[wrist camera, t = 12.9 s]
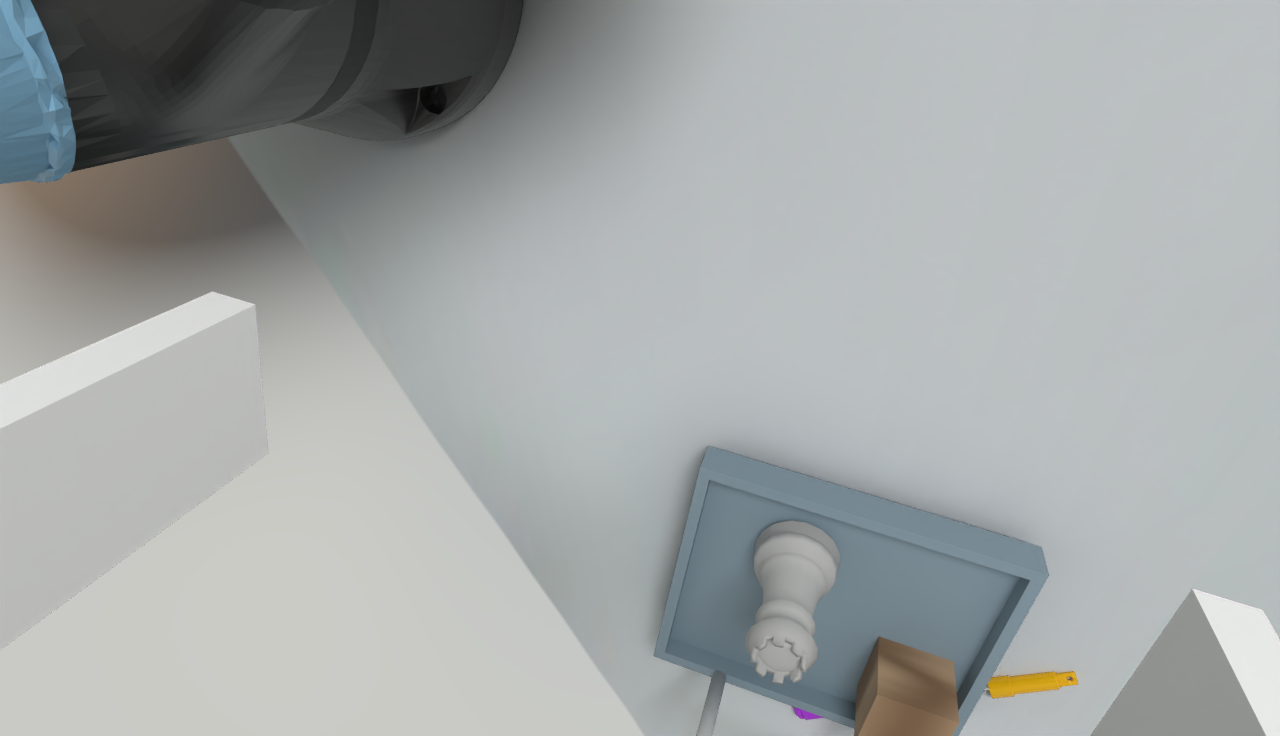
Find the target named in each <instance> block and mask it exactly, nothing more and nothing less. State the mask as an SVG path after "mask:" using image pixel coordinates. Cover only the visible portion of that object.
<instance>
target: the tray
mask: <svg viewBox="0 0 1280 736" xmlns="http://www.w3.org/2000/svg"><path fill="white" fill-rule="evenodd" d="M790 520H793V521H801V522H807V523H809V524H811V525H813V526H815V527H818V528H820V529H821V530H823V531H824V532H825V533H826V534H827V535H828V536H829V537H830V538H831V539H832V540H833V541H834V542H835V544H836V547H837V549H838V551H839V554H840V564H839V570H838V571H837V580H836V581H835V583H834V585H833V586H832V588H831V589H830V591H829V592H828V594H826V595H825V596H823V597H822V599H821V600H820V601H818V602H817V605H816V608H815V611H814V614H813V620H814V622H815V634H814V635H813V639H814V641H815V643H816V646H817V648H818V651H817V660H816V661H815V663H814V664H813V665H812V667H811V668H809V669H807V673H806V672H803V674H802V680H800V681H798V682H796V683H793V682H792V681H791V679H790V676H788V677H784V683H783V685H782V684H776V683H772V681H773V674H771V673H769V672H767V671H766V675H765V676H763V677H761V676H760V675H759V674H757V673H756V672H755V671H754V670H755V665H756V663H754V662H750V654H749V652H748V650H747V648H746V634H747V633H748V631H749V629H750V628H751V626H753V625H755V624H756V623H755V619H756V613H757V611H758V609H759V608H760V606H762V603H763V589H762V587H761V585H760V582H759V580H758V578H757V576H756V574H755V571H754V553H755V543H756V541H757V539H758V538H759V536H760V534H761V532H762V531H764V530H765V529H767V528H768V527H770V526H771V525H773V524H775V523H780V522H785V521H790ZM1048 576H1049V573H1048V569H1047V565H1046V562H1045V558H1044V554H1043V550H1042V547H1040V546H1036V545H1033V544H1030V543H1027V542H1023V541H1020V540H1017V539H1013V538H1010V537H1007V536H1004V535H1000V534H997V533H994V532H990V531H987V530H984V529H981V528H977V527H974V526H971V525H967V524H964V523H961V522H958V521H954V520H951V519H948V518H944V517H941V516H938V515H935V514H931V513H928V512H925V511H921V510H918V509H915V508H912V507H908V506H905V505H902V504H898V503H895V502H892V501H889V500H885V499H882V498H879V497H875V496H872V495H869V494H866V493H862V492H859V491H856V490H852V489H849V488H846V487H843V486H839V485H836V484H833V483H829V482H826V481H823V480H820V479H816V478H813V477H810V476H806V475H803V474H800V473H797V472H793V471H790V470H787V469H783V468H780V467H777V466H774V465H770V464H767V463H764V462H760V461H757V460H754V459H750V458H747V457H744V456H741V455H737V454H734V453H731V452H727V451H724V450H721V449H718V448H714V447H711V446H708V449H707V451H706V454H705V456H704V459H703V461H702V463H701V466H700V469H699V473H698V477H697V481H696V485H695V490H694V494H693V498H692V502H691V506H690V510H689V514H688V518H687V522H686V526H685V530H684V534H683V538H682V542H681V546H680V550H679V555H678V559H677V563H676V567H675V571H674V575H673V579H672V583H671V587H670V591H669V595H668V599H667V603H666V607H665V611H664V615H663V620H662V624H661V628H660V632H659V636H658V640H657V644H656V648H655V652H654V656H655V657H658V658H660V659H663V660H666V661H669V662H671V663H674V664H677V665H680V666H683V667H685V668H688V669H691V670H694V671H696V672H699V673H702V674H705V675H708V676H710V677H712V679H711V682H710V686H709V690H708V694H707V697H706V701H705V705H704V709H703V712H702V716H701V720H700V724H699V727H698V731H697V735H696V736H712V734H713V730H714V725H715V721H716V717H717V713H718V709H719V705H720V701H721V697H722V693H723V689H724V685H725V682H727V683H730V684H732V685H735V686H738V687H741V688H744V689H746V690H749V691H752V692H755V693H757V694H760V695H763V696H766V697H769V698H771V699H774V700H777V701H780V702H782V703H785V704H788V705H791V706H794V707H796V708H799V709H802V710H805V711H807V712H810V713H813V714H816V715H819V716H821V717H824V718H827V719H830V720H832V721H835V722H838V723H841V724H843V725H846V726H849V727H852V728H855V714H856V695H857V684H858V682H859V680H860V677H861V675H862V673H863V671H864V668H865V666H866V664H867V662H868V659H869V657H870V655H871V653H872V650H873V648H874V646H875V644H876V641H877V639H878V637H879V636H880V637H883V638H885V639H888V640H891V641H894V642H897V643H900V644H903V645H906V646H909V647H912V648H915V649H918V650H921V651H924V652H927V653H930V654H933V655H936V656H939V657H942V658H945V659H948V660H951V661H954V670H955V681H956V692H957V704H958V715H959V724H958V726H957V728H956V730H955V731H954V733H953V735H952V736H959V734H960V732H961V730H962V728H963V727H964V725H965V723H966V721H967V720H968V718H969V716H970V714H971V713H972V711H973V709H974V707H975V705H976V704H977V702H978V700H979V698H980V697H981V695H982V693H983V691H984V689H985V688H986V686H987V684H988V682H989V681H990V679H991V677H992V675H993V674H994V672H995V670H996V668H997V666H998V665H999V663H1000V661H1001V659H1002V658H1003V656H1004V654H1005V652H1006V651H1007V649H1008V647H1009V645H1010V643H1011V642H1012V640H1013V638H1014V636H1015V635H1016V633H1017V631H1018V629H1019V627H1020V626H1021V624H1022V622H1023V620H1024V619H1025V617H1026V615H1027V613H1028V612H1029V610H1030V608H1031V606H1032V604H1033V603H1034V601H1035V599H1036V597H1037V596H1038V594H1039V592H1040V590H1041V588H1042V587H1043V585H1044V583H1045V581H1046V580H1047V578H1048Z"/></svg>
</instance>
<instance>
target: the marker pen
mask: <svg viewBox="0 0 1280 736" xmlns="http://www.w3.org/2000/svg"><path fill="white" fill-rule="evenodd" d="M1067 677H1072V679H1071V680H1068V679H1067ZM1069 685H1078V681H1077V678H1076V675H1075V672H1074V671H1072V672H1063V673H1055V672H1045V673H1037V674H1028V675H1019V676H1010V677H1009V676H1008V675H1007V676H999V677H991V679H990V681H989V682H988V686H986V688H985V689H984V690H989V691H990V694H991V697H992V698H993V699H995V698H1004V697H1013V696H1015V694H1023V693H1032V692H1041V691H1050V690H1059V689H1060V687H1062V686H1069ZM794 711H795V714H796V715H797V716H798V717H799V718H801V719H803V718H805V719H806V720H808V719H817V718H824V717H821V716H819V715H816V714H813V713H810V712H807V711H805V710H802V709H799V708H796V707H794Z"/></svg>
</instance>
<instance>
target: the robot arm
mask: <svg viewBox="0 0 1280 736" xmlns="http://www.w3.org/2000/svg"><path fill="white" fill-rule="evenodd" d="M522 4H523V0H0V184H3V183H11V182H19V181H35V182H51V181H57V180H59V179H61V178H62V177H63V176H64V175H65V174H66V173H70V172H73V171H77V170H81V169H86V168H91V167H95V166H99V165H104V164H108V163H113V162H117V161H122V160H126V159H131V158H135V157H139V156H144V155H148V154H153V153H157V152H161V151H166V150H171V149H175V148H180V147H183V146H188V145H193V144H197V143H202V142H206V141H211V140H215V139H219V138H224V137H229V136H233V135H237V134H242V133H246V132H251V131H255V130H260V129H264V128H269V127H273V126H277V125H281V124H285V123H290V122H293V123H297V124H301V125H305V126H309V127H313V128H317V129H321V130H325V131H329V132H333V133H337V134H340V135H344V136H348V137H353V138H358V139H365V140H396V139H403V138H408V137H412V136H415V135H419V134H422V133H426V132H429V131H433V130H436V129H438V128H441V127H444V126H446V125H448V124H450V123H452V122H454V121H456V120H457V119H459V118H461V117H462V116H464V115H465V114H466V113H468V112H469V111H470V110H471V109H473V108H474V107H475V106H476V105H477V104H478V103H479V102H480V101H481V100H482V99H483V98H484V97H485V96H486V94H487V93H488V92H489V91H490V90H491V88H492V87H493V85H494V84H495V83H496V81H497V79H498V78H499V76H500V74H501V73H502V71H503V69H504V67H505V65H506V63H507V61H508V59H509V56H510V54H511V51H512V49H513V46H514V42H515V39H516V36H517V32H518V28H519V24H520V18H521V13H522ZM267 454H268V442H267V431H266V420H265V408H264V397H263V386H262V375H261V363H260V352H259V340H258V329H257V317H256V307H255V304H252V303H249V302H245V301H242V300H239V299H236V298H232V297H229V296H226V295H222V294H219V293H216V292H210V293H208V294H206V295H203V296H201V297H199V298H197V299H194V300H192V301H190V302H187V303H185V304H183V305H180V306H178V307H176V308H173V309H172V310H169V311H167V312H164V313H162V314H160V315H157V316H156V317H153V318H151V319H148V320H146V321H144V322H141V323H139V324H137V325H135V326H133V327H130V328H128V329H126V330H123V331H121V332H119V333H116V334H114V335H112V336H110V337H107V338H105V339H103V340H100V341H98V342H96V343H93V344H91V345H89V346H87V347H84V348H82V349H80V350H78V351H75V352H73V353H71V354H68V355H66V356H64V357H61V358H59V359H57V360H55V361H52V362H50V363H48V364H45V365H44V366H41V367H38V368H36V369H34V370H32V371H29V372H27V373H25V374H22V375H20V376H18V377H16V378H14V379H11V380H9V381H6V382H4V383H2V384H0V650H1V649H2V648H4V647H5V646H6V645H8V644H9V643H11V642H12V641H13V640H15V639H16V638H17V637H19V636H20V635H22V634H23V633H24V632H26V631H27V630H28V629H30V628H31V627H32V626H34V625H35V624H37V623H38V622H39V621H40V620H42V619H43V618H45V617H46V616H47V615H49V614H50V613H52V611H54V610H56V609H57V608H58V607H60V606H61V605H62V604H64V603H65V602H67V601H68V600H69V599H71V598H72V597H73V596H75V595H76V594H77V593H79V592H80V591H81V590H83V589H84V588H86V587H87V586H88V585H90V584H91V583H92V582H94V581H95V580H96V579H98V578H99V577H101V576H102V575H103V574H104V573H106V572H107V571H109V570H110V569H111V568H113V567H114V566H115V565H117V564H118V563H119V562H121V561H122V560H124V559H125V558H126V557H128V556H129V555H130V554H132V553H133V552H135V551H136V550H137V549H139V548H140V547H141V546H142V545H144V544H145V543H147V542H148V541H149V540H151V539H152V538H153V537H155V536H156V535H158V534H159V533H160V532H162V531H163V530H165V529H166V528H167V527H168V526H170V525H171V524H173V523H174V522H175V521H177V520H178V519H179V518H181V517H182V516H184V515H185V514H186V513H188V512H189V511H190V510H192V509H193V508H194V507H195V506H197V505H198V504H200V503H201V502H202V501H204V500H205V499H207V498H208V497H209V496H211V495H212V494H214V493H215V492H216V491H217V490H219V489H220V488H222V487H223V486H224V485H226V484H227V483H228V482H230V481H231V480H233V479H234V478H235V477H237V476H238V475H239V474H241V473H242V472H243V471H245V470H246V469H248V468H249V467H250V466H252V465H253V464H254V463H256V462H257V461H258V460H260V459H261V458H262V457H264V456H265V455H267ZM1091 736H1280V639H1279V637H1278V636H1277V634H1276V632H1275V631H1274V629H1273V627H1272V626H1271V624H1270V622H1269V620H1268V619H1267V617H1266V615H1265V614H1264V612H1263V610H1261V609H1258V608H1254V607H1251V606H1248V605H1245V604H1241V603H1238V602H1235V601H1231V600H1228V599H1225V598H1221V597H1218V596H1215V595H1212V594H1208V593H1205V592H1202V591H1198V590H1195V589H1192V590H1191V591H1190V593H1189V594H1188V596H1187V597H1186V599H1185V600H1184V601H1183V603H1182V604H1181V606H1180V607H1179V609H1178V610H1177V611H1176V613H1175V614H1174V616H1173V617H1172V619H1171V620H1170V622H1169V623H1168V624H1167V626H1166V627H1165V629H1164V630H1163V632H1162V633H1161V635H1160V636H1159V637H1158V639H1157V640H1156V642H1155V643H1154V645H1153V646H1152V648H1151V649H1150V650H1149V652H1148V653H1147V655H1146V656H1145V658H1144V659H1143V660H1142V662H1141V663H1140V665H1139V666H1138V668H1137V669H1136V671H1135V672H1134V673H1133V675H1132V676H1131V678H1130V679H1129V681H1128V682H1127V684H1126V685H1125V686H1124V688H1123V689H1122V691H1121V692H1120V694H1119V695H1118V697H1117V698H1116V699H1115V701H1114V702H1113V704H1112V705H1111V707H1110V708H1109V710H1108V711H1107V712H1106V714H1105V715H1104V717H1103V718H1102V720H1101V721H1100V722H1099V724H1098V725H1097V727H1096V728H1095V730H1094V731H1093V733H1092V734H1091Z"/></svg>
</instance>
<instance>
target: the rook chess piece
mask: <svg viewBox="0 0 1280 736" xmlns="http://www.w3.org/2000/svg"><path fill="white" fill-rule="evenodd" d="M839 564H840V554H839V551H838V549H837V547H836V544H835V542H834V541H833V540H832V539H831V538H830V537H829V536H828V535H827V534H826V533H825V532H824V531H823V530H821V529H820V528H818V527H815V526H813V525H811V524H809V523H807V522H801V521H793V520H790V521H785V522H780V523H775V524H773V525H771V526H770V527H768V528H767V529H765V530H764V531H762V532H761V534H760V536H759V538H758V539H757V541H756V543H755V553H754V571H755V574H756V576H757V578H758V580H759V582H760V585H761V587H762V589H763V603H762V606H760V608H759V609H758V611H757V613H756V619H755V623H756V624H755V625H753V626H751V628H750V629H749V631H748V633H747V634H746V648H747V650H748V652H749V654H750V662H754V663H756V665H755V670H754V671H755V672H756V673H757V674H759V675H760V676H761V677H763V676H765V675H766V671H767V672H769V673H771V674H773V681H772V683H776V684H782V685H783V683H784V677H788V676H790V679H791V681H792V682H793V683H796V682H798V681H800V680H802V674H803V672H806V673H807V669H809V668H811V667H812V665H813V664H814V663H815V661H816V660H817V651H818V648H817V646H816V643H815V641H814V639H813V635H814V634H815V622H814V620H813V614H814V611H815V608H816V605H817V602H818V601H820V600H821V599H822V597H823V596H825V595H826V594H828V592H829V591H830V589H831V588H832V586H833V585H834V583H835V581H836V580H837V571H838V570H839Z"/></svg>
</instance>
